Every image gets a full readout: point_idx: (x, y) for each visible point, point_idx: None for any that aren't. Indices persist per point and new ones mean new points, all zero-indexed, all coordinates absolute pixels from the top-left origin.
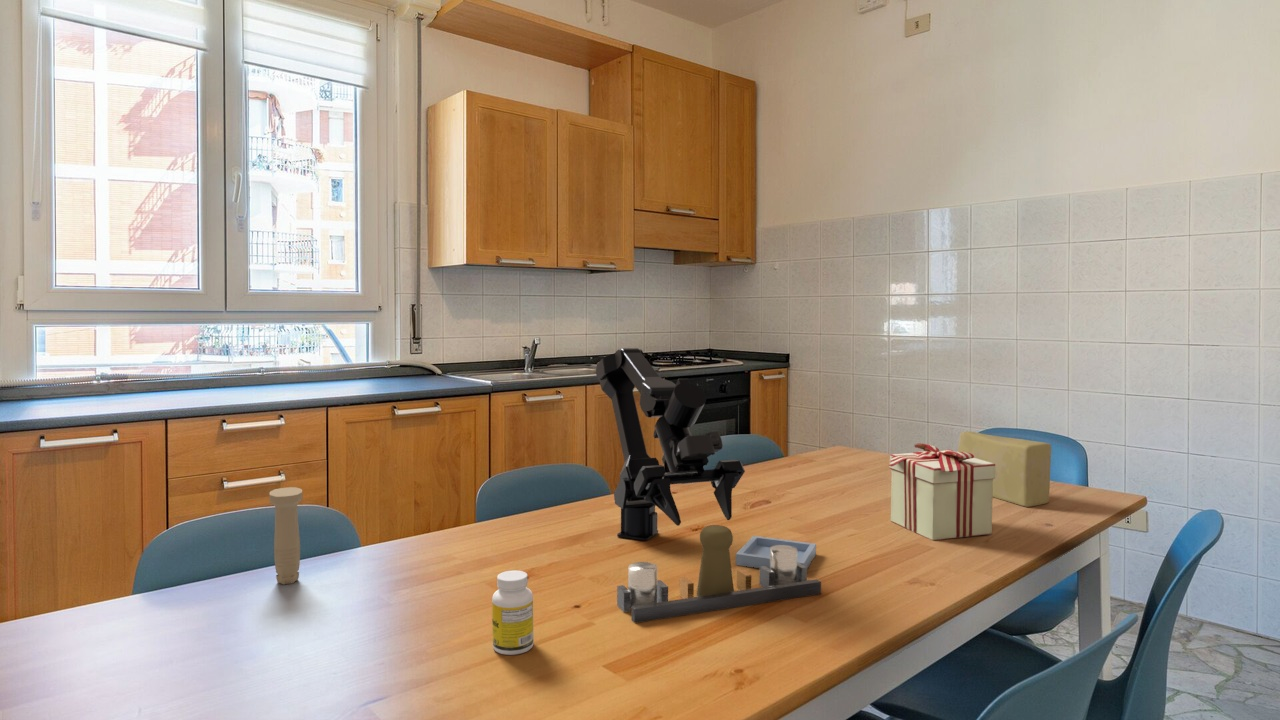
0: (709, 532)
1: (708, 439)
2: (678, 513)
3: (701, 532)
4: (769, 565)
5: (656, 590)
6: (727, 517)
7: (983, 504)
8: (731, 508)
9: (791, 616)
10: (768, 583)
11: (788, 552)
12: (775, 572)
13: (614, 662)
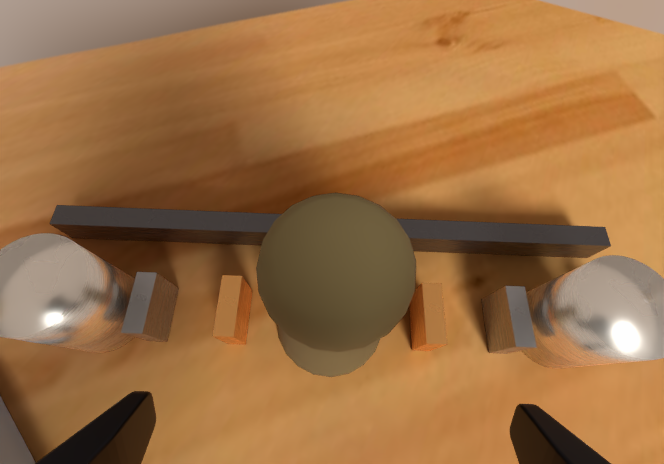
0: (395, 225)
1: None
2: (561, 451)
3: (413, 283)
4: (19, 459)
5: (537, 291)
6: (148, 422)
7: None
8: (76, 433)
9: (239, 150)
10: (170, 285)
11: (49, 243)
12: (125, 286)
13: (633, 119)
